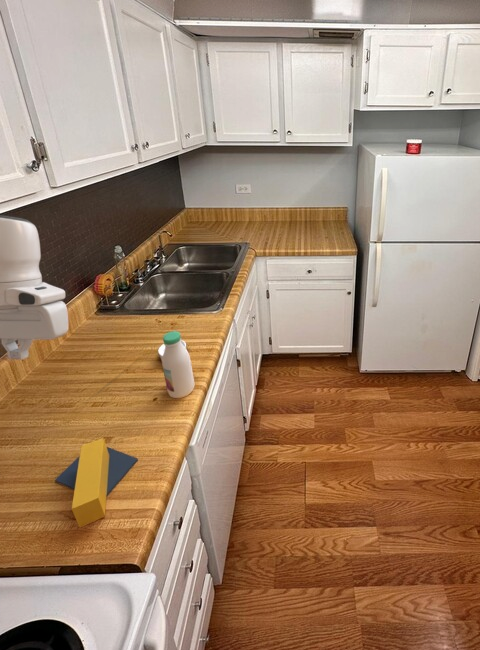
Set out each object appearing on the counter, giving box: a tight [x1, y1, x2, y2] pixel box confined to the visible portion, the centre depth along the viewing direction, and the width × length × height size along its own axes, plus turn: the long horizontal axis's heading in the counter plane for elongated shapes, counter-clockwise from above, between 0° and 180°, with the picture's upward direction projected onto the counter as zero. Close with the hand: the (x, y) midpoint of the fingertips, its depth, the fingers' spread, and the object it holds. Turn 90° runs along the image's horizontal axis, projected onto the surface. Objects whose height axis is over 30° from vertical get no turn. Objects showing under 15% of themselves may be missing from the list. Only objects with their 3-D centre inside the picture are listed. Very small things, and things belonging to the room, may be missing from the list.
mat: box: [54, 446, 139, 498], centre depth 78 cm, size 14×10×1 cm
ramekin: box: [157, 339, 187, 361], centre depth 114 cm, size 9×9×4 cm
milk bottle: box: [161, 330, 195, 399], centre depth 98 cm, size 8×8×20 cm
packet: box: [71, 437, 109, 528], centre depth 73 cm, size 6×4×15 cm
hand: (18, 358), depth 70 cm, fingers closed
